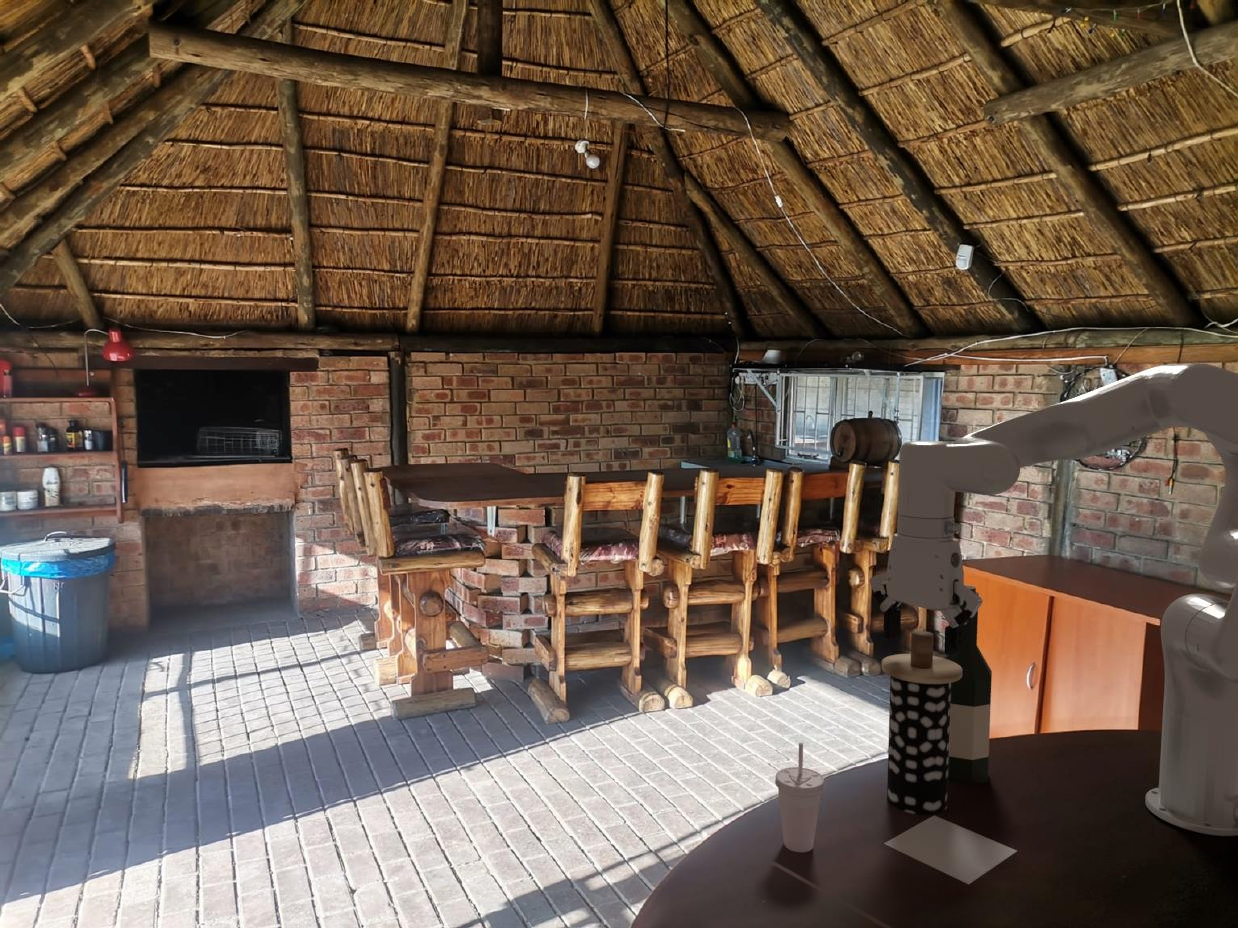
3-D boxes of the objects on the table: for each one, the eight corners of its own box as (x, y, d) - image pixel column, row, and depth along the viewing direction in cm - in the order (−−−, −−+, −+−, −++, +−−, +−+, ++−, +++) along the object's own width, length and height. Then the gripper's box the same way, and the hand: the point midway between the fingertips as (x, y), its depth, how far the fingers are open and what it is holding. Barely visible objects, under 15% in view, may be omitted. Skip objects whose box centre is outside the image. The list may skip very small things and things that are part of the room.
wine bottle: (998, 786, 132) (1006, 593, 129) (943, 785, 132) (950, 593, 129) (977, 762, 140) (984, 581, 137) (925, 762, 140) (931, 581, 137)
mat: (1017, 853, 113) (1017, 850, 113) (968, 886, 105) (968, 883, 105) (933, 817, 122) (933, 815, 122) (883, 846, 115) (884, 843, 115)
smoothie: (825, 839, 116) (827, 739, 115) (820, 863, 110) (822, 758, 109) (778, 831, 119) (779, 732, 117) (770, 855, 112) (772, 751, 111)
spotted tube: (940, 822, 121) (944, 684, 119) (880, 807, 125) (883, 673, 123) (952, 798, 128) (956, 667, 126) (895, 785, 132) (898, 658, 130)
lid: (976, 672, 124) (978, 634, 123) (935, 689, 117) (937, 650, 116) (908, 654, 132) (909, 619, 132) (866, 669, 125) (867, 632, 125)
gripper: (997, 532, 118) (992, 654, 120) (887, 517, 132) (884, 627, 133) (968, 538, 114) (963, 665, 115) (857, 522, 127) (855, 636, 129)
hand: (921, 644), depth 124 cm, fingers open, 9 cm apart
